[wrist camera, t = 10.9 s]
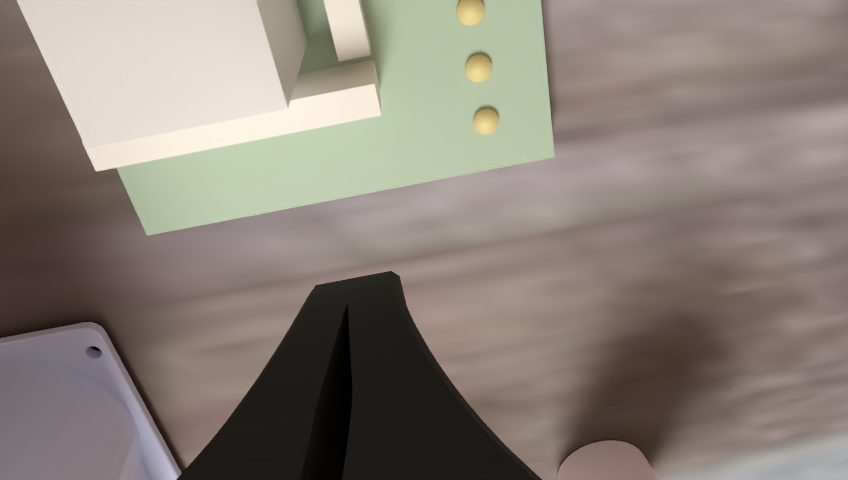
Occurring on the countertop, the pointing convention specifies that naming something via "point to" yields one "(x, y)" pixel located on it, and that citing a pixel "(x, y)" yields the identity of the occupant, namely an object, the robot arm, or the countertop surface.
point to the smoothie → (606, 463)
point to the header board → (359, 114)
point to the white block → (167, 61)
